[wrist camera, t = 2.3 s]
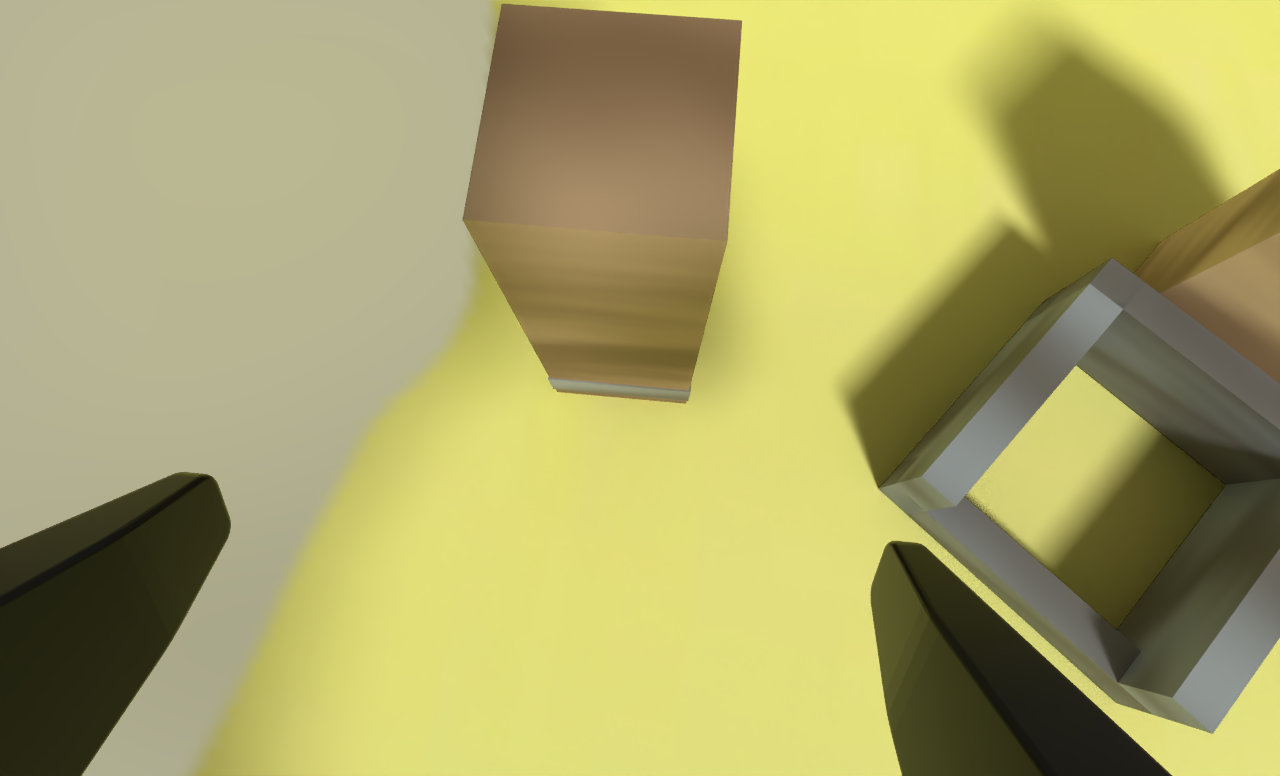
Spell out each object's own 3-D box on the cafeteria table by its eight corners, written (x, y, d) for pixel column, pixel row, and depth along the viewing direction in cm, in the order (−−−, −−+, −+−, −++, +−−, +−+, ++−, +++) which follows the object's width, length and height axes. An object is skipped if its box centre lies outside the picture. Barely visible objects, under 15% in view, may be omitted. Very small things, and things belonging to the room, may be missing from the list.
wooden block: (686, 404, 22) (730, 244, 11) (556, 393, 23) (459, 222, 11) (696, 282, 24) (744, 18, 12) (571, 272, 24) (499, 1, 12)
